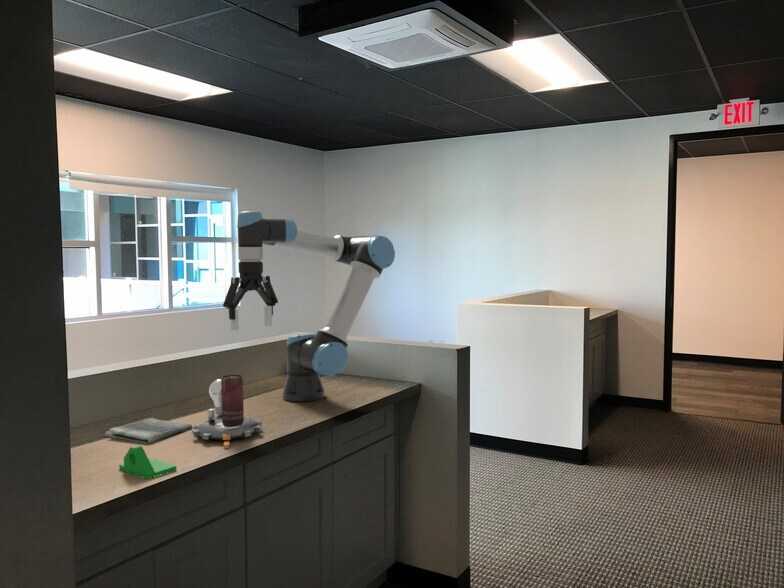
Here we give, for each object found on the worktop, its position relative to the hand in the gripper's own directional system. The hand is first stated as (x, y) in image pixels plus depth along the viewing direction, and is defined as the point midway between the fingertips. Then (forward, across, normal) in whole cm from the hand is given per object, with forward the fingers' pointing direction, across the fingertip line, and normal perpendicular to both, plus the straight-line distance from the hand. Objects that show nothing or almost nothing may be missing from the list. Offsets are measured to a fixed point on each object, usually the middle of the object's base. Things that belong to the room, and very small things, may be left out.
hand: (252, 328), depth 197 cm
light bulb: (+29, +5, -10) cm, 31 cm away
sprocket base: (+29, +17, +9) cm, 35 cm away
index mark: (+29, +25, +18) cm, 42 cm away
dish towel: (+29, +29, -12) cm, 43 cm away
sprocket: (+27, +17, +9) cm, 33 cm away
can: (+26, +15, +9) cm, 32 cm away
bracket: (+29, +48, +17) cm, 58 cm away
